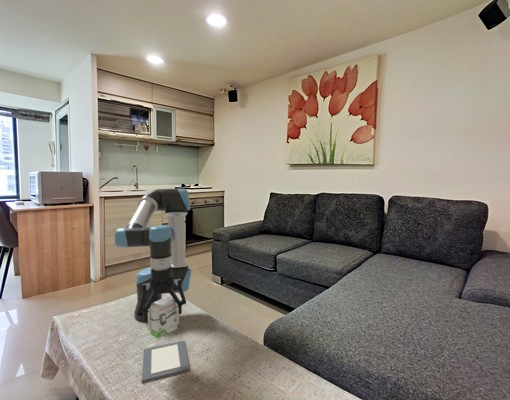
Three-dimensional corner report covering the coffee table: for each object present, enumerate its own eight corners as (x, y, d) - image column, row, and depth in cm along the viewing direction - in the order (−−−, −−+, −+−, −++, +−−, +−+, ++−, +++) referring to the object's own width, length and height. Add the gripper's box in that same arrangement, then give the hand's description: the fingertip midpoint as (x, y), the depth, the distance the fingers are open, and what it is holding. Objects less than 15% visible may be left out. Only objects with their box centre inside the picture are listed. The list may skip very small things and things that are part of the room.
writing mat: (143, 350, 110) (143, 348, 109) (184, 342, 115) (184, 339, 115) (141, 382, 93) (141, 379, 93) (189, 370, 98) (189, 368, 98)
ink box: (158, 339, 98) (156, 308, 97) (150, 334, 101) (148, 304, 100) (177, 328, 105) (176, 299, 104) (169, 324, 108) (168, 295, 106)
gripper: (127, 274, 93) (131, 336, 95) (193, 266, 101) (194, 324, 103) (129, 267, 100) (132, 325, 102) (190, 260, 108) (192, 314, 110)
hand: (163, 324), depth 102 cm, fingers closed on ink box, 9 cm apart
